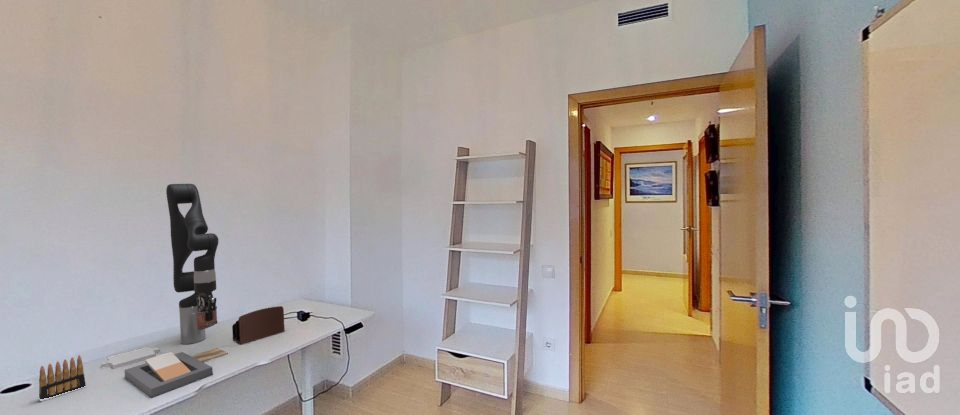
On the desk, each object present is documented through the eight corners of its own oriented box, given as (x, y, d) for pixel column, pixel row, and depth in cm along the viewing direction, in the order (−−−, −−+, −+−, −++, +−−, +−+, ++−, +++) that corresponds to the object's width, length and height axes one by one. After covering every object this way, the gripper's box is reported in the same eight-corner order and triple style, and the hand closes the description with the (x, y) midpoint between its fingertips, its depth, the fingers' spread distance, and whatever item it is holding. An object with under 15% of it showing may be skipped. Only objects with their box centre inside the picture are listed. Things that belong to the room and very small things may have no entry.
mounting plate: (155, 348, 166) (155, 344, 165) (163, 355, 158) (163, 351, 158) (99, 364, 151) (98, 359, 151) (104, 372, 143) (104, 367, 143)
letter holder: (285, 332, 182) (283, 304, 181) (240, 345, 166) (238, 315, 166) (276, 327, 188) (275, 301, 188) (232, 340, 172) (231, 311, 172)
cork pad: (190, 357, 154) (190, 356, 154) (217, 349, 162) (217, 347, 162) (200, 363, 149) (200, 361, 149) (227, 353, 157) (227, 352, 157)
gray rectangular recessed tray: (124, 377, 138) (124, 369, 138) (182, 358, 153) (182, 351, 153) (151, 397, 123) (151, 389, 123) (212, 374, 138) (212, 367, 138)
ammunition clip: (83, 385, 132) (81, 353, 132) (85, 386, 132) (83, 354, 131) (39, 401, 123) (36, 366, 123) (40, 402, 122) (38, 367, 122)
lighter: (201, 330, 151) (200, 307, 150) (195, 329, 152) (194, 306, 151) (219, 322, 159) (218, 300, 158) (213, 321, 160) (212, 300, 159)
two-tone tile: (145, 362, 140) (145, 359, 140) (171, 354, 147) (171, 351, 146) (165, 384, 130) (165, 382, 129) (192, 374, 136) (192, 372, 136)
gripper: (187, 280, 155) (189, 319, 155) (202, 284, 147) (204, 325, 148) (207, 276, 161) (209, 314, 162) (222, 280, 154) (224, 319, 154)
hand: (207, 319), depth 155 cm, fingers closed on lighter, 4 cm apart
